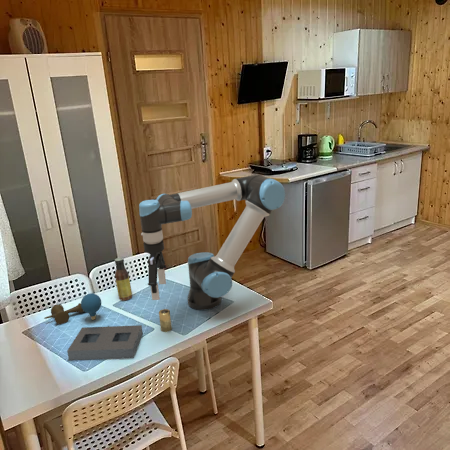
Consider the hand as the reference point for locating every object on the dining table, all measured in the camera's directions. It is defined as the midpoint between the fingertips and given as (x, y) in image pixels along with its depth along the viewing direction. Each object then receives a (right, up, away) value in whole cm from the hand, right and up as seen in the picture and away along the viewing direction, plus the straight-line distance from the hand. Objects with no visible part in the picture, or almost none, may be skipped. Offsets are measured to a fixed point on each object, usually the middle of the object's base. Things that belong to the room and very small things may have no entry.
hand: (159, 291), depth 169 cm
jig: (-19, -20, -5) cm, 28 cm away
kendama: (-43, -14, +19) cm, 49 cm away
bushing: (+2, -16, +5) cm, 17 cm away
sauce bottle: (-21, -9, +33) cm, 40 cm away
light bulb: (-31, -15, +16) cm, 37 cm away
